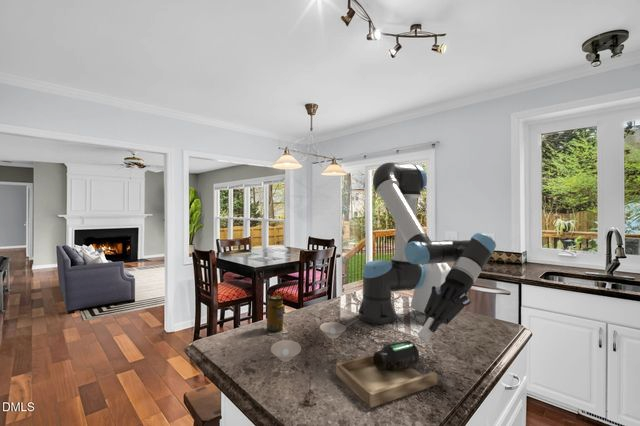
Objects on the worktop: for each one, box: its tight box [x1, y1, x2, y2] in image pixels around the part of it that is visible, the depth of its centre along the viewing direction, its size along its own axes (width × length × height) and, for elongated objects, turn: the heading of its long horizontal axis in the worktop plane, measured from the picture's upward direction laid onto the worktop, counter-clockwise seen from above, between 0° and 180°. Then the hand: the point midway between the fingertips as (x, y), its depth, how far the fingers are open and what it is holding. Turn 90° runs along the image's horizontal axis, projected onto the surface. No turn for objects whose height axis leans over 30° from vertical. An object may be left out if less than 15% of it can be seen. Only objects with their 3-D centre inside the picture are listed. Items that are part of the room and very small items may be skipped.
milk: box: [409, 263, 452, 314], centre depth 138 cm, size 12×12×26 cm
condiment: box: [262, 295, 289, 336], centre depth 116 cm, size 7×8×12 cm
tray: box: [335, 353, 438, 408], centre depth 84 cm, size 21×16×3 cm
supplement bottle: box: [373, 340, 420, 372], centre depth 89 cm, size 7×7×12 cm
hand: (421, 338), depth 90 cm, fingers closed
